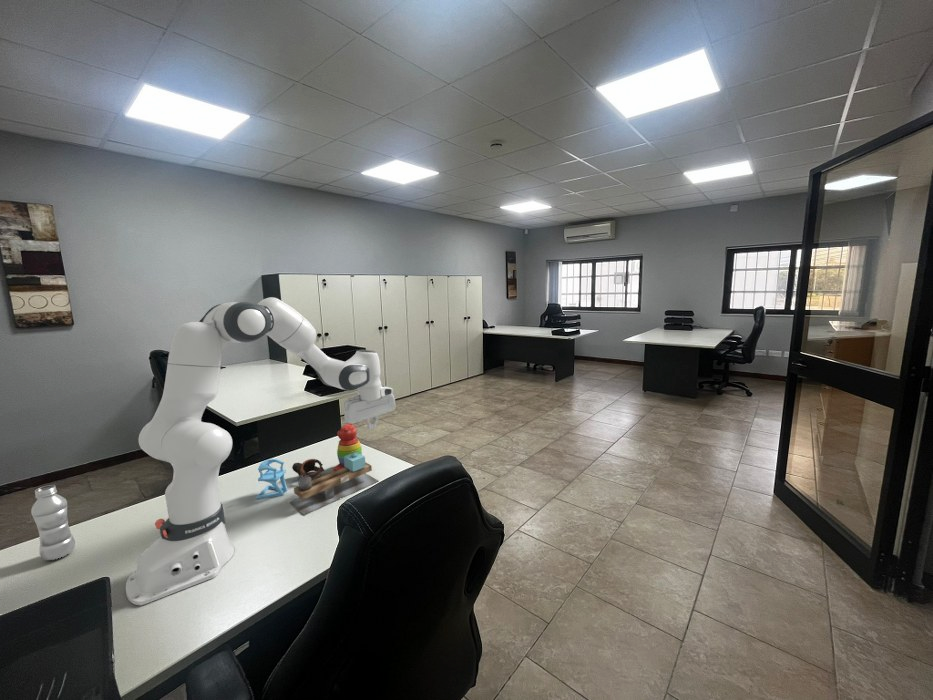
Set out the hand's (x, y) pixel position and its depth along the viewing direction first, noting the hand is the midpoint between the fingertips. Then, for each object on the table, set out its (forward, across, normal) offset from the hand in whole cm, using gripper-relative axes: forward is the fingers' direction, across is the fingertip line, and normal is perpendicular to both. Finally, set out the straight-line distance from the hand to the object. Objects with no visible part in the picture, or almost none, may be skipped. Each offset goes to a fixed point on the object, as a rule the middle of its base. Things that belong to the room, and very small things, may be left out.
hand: (372, 427), depth 142 cm
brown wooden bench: (+19, -16, 0) cm, 25 cm away
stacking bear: (+19, -3, +13) cm, 23 cm away
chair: (+19, -31, +16) cm, 40 cm away
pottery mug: (+19, -18, +17) cm, 32 cm away
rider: (+15, -8, 0) cm, 17 cm away
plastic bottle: (+18, -83, +27) cm, 89 cm away
